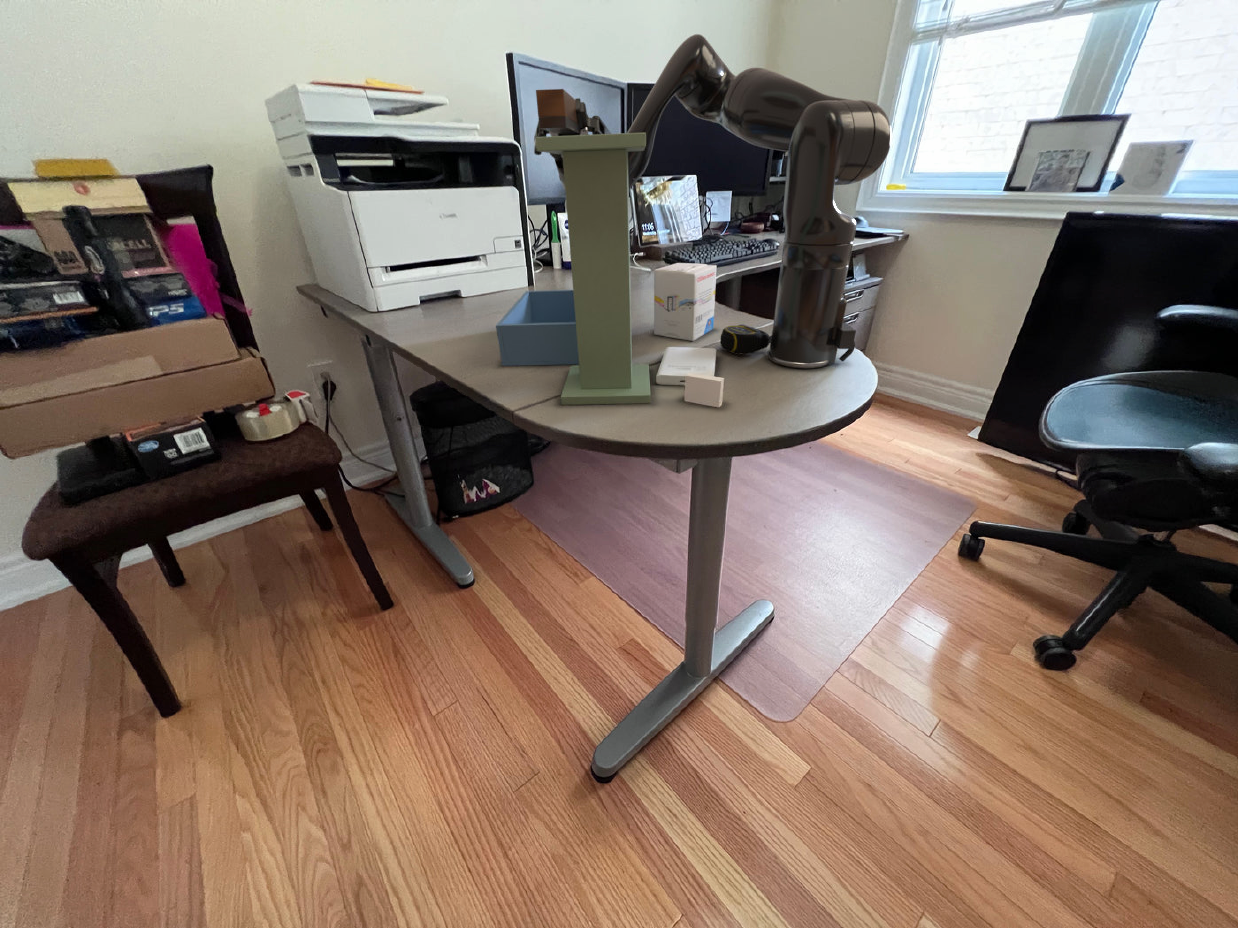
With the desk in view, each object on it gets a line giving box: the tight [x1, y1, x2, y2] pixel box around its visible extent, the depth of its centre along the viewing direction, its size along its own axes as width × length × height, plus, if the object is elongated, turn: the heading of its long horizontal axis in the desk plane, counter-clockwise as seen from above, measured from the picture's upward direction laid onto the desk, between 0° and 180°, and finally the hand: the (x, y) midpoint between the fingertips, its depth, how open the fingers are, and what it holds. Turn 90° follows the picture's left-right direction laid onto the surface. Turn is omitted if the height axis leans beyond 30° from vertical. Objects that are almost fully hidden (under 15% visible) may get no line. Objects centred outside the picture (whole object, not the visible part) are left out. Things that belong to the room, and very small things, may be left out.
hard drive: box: [655, 346, 717, 387], centre depth 75 cm, size 2×8×12 cm
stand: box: [536, 132, 651, 406], centre depth 63 cm, size 12×16×30 cm
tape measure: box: [719, 324, 770, 356], centre depth 81 cm, size 7×7×4 cm
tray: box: [495, 289, 579, 367], centre depth 88 cm, size 14×25×7 cm, turn 178°
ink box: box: [653, 262, 717, 342], centre depth 89 cm, size 9×8×12 cm
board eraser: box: [535, 88, 581, 135], centre depth 71 cm, size 4×20×4 cm, turn 178°
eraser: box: [683, 373, 725, 409], centre depth 64 cm, size 1×5×4 cm, turn 60°
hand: (564, 105), depth 73 cm, fingers closed on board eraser, 3 cm apart
